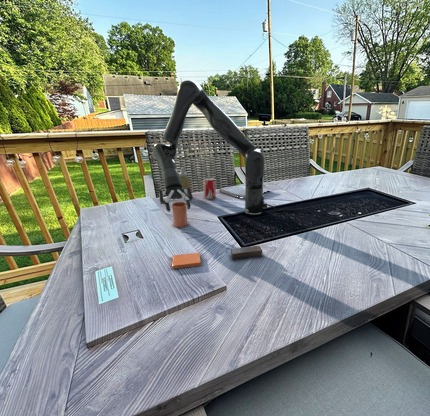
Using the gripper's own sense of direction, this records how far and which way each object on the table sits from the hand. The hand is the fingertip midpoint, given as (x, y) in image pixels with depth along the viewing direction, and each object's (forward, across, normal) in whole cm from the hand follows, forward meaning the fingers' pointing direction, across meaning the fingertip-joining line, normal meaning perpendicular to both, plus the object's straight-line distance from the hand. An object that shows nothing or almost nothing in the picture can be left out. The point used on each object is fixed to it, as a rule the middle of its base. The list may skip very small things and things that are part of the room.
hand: (179, 209), depth 119 cm
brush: (+33, +14, -23) cm, 43 cm away
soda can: (-18, +26, +29) cm, 43 cm away
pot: (+5, 0, +5) cm, 7 cm away
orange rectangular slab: (+29, -6, -19) cm, 35 cm away
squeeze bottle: (-25, +13, +35) cm, 45 cm away
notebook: (-21, +53, +31) cm, 65 cm away
